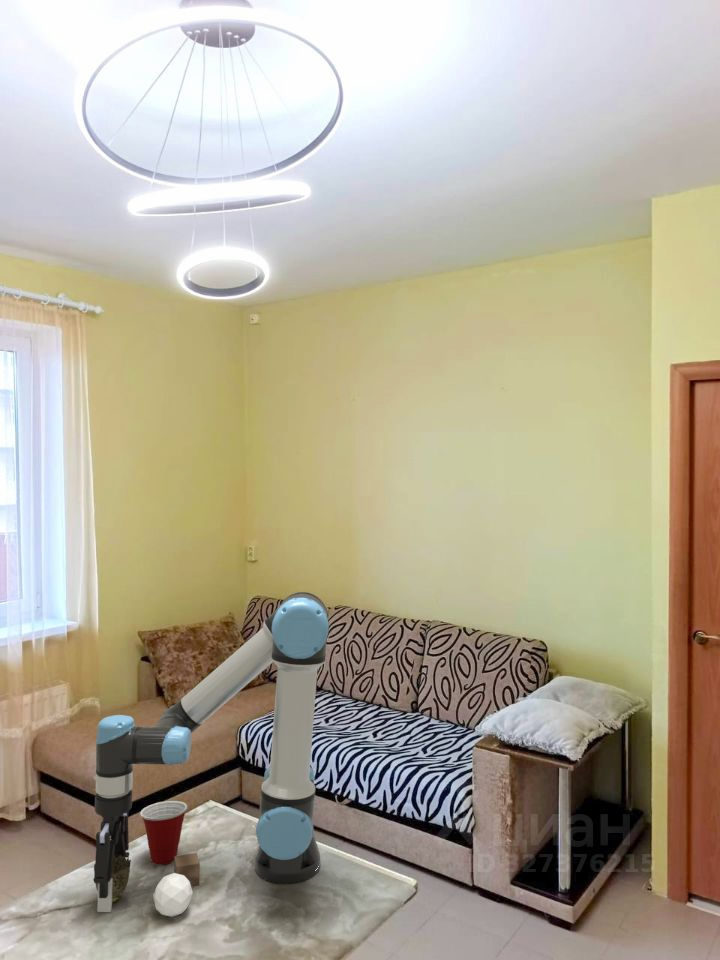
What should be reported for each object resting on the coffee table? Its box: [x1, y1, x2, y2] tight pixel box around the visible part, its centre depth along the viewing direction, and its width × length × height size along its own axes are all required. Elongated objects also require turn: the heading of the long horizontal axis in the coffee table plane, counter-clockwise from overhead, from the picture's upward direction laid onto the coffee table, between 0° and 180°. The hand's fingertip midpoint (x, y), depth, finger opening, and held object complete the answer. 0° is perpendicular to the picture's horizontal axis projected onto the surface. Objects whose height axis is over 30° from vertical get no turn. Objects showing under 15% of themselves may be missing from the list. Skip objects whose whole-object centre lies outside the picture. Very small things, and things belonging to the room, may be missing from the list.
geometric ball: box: [152, 872, 194, 918], centre depth 148 cm, size 8×8×8 cm
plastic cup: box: [140, 800, 188, 866], centre depth 170 cm, size 11×11×12 cm
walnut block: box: [173, 852, 201, 888], centre depth 160 cm, size 5×5×5 cm
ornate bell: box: [93, 855, 132, 905], centre depth 152 cm, size 8×7×8 cm
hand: (111, 899), depth 152 cm, fingers open, 7 cm apart
